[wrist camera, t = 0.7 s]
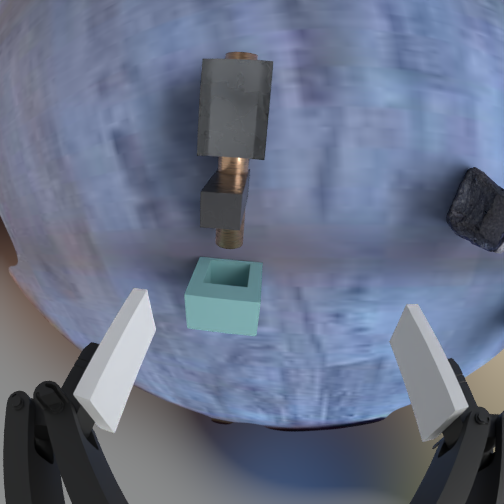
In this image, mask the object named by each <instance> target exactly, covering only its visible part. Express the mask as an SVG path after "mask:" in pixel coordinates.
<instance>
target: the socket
mask: <svg viewBox="0 0 504 504" xmlns="http://www.w3.org/2000/svg"><path fill="white" fill-rule="evenodd" d="M262 264H263V263H260V262H249V261H239V260H229V259H219V258H209V257H200V258H199V260H198V263H197V265H196V268H195V270H194V272H193V275H192V277H191V280H190V282H189V284H188V287H187V289H186V292H185V294H184V296H185V308H186V319H187V328H190V329H197V330H205V331H212V332H221V333H229V334H239V335H249V336H256V334H257V326H258V319H259V311H260V302H261V283H262Z"/></svg>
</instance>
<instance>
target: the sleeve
mask: <svg viewBox="0 0 504 504" xmlns="http://www.w3.org/2000/svg"><path fill="white" fill-rule="evenodd" d="M272 70H273V61H262V60H246V59H203V61H202V73H201V86H200V102H199V120H198V143H197V156H218V157H234V158H248V159H259V160H264V158H265V147H266V136H267V125H268V114H269V103H270V92H271V81H272Z"/></svg>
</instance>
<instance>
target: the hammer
mask: <svg viewBox="0 0 504 504" xmlns="http://www.w3.org/2000/svg"><path fill="white" fill-rule="evenodd" d="M257 57H258V56H257V55H256V54H252V53H246V52H230V53H226V57H225V59H246V60H257ZM248 166H249V159H248V158H234V157H219V160H218V170H217V171H216V173H215V174H214V175H213V176H212V178H211V179H210V180H209V181H208V183H207V184H206V185H205V186H204V188H203V189H202V190H201V201H200V227H205V228H216V244H217V245H218V246H219V247H221V248H225V249H235V248H239V247H241V246H242V244H243V233H244V219H245V206H246V202H247V198H248V188H249V176H250V169H248Z"/></svg>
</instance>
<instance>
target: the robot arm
mask: <svg viewBox="0 0 504 504" xmlns="http://www.w3.org/2000/svg"><path fill="white" fill-rule="evenodd" d="M155 331H156V327H155V323H154V319H153V315H152V310H151V306H150V301H149V296H148V291H147V290H145V289H137V288H133V290H132V291H131V293H130V295H129V296H128V298H127V299H126V301H125V303H124V304H123V306H122V307H121V309H120V311H119V312H118V314H117V316H116V317H115V319H114V321H113V322H112V324H111V326H110V327H109V329H108V331H107V332H106V334H105V336H104V338H103V339H102V341H101V343H100V344H97V343H93V342H91V343H90V344H89V345H88V346H86V347H85V348H84V349H83V351H82V352H81V354H80V356H79V357H78V360H77V361H76V363H75V364H74V367H73V368H72V370H71V371H70V373H69V375H68V377H67V379H66V381H65V382H64V384H63V386H62V388H60V387H59V385H57V384H56V383H55V382H52V381H44V382H42V383H41V384H39V385H38V386H37V387H36V389H35V391H34V394H33V399H32V398H30V397H29V396H28V395H27V394H26V393H25V392H23V391H16V392H14V393H13V394H11V395H10V397H9V398H8V402H7V407H6V416H5V429H4V449H3V458H4V459H3V467H4V488H5V498H6V504H65V501H64V495H63V489H62V481H61V476H62V479H63V482H64V484H65V487H66V490H67V492H68V495H69V497H70V499H71V502H72V504H128V502H127V500H126V499H125V497H124V495H123V493H122V491H121V489H120V487H119V486H118V484H117V482H116V480H115V478H114V476H113V474H112V472H111V469H110V467H109V465H108V463H107V461H106V458H105V456H104V454H103V452H102V449H101V447H100V444H99V442H98V440H97V437H96V435H95V432H94V430H93V425H94V423H96V424H97V426H98V427H99V428H101V429H104V430H107V431H110V432H113V433H115V431H116V429H117V426H118V423H119V420H120V417H121V415H122V412H123V410H124V407H125V404H126V402H127V399H128V397H129V394H130V391H131V389H132V386H133V384H134V381H135V379H136V376H137V374H138V371H139V369H140V366H141V364H142V362H143V359H144V357H145V354H146V352H147V350H148V347H149V345H150V343H151V340H152V338H153V336H154V333H155ZM389 342H390V344H391V347H392V350H393V352H394V355H395V358H396V360H397V363H398V366H399V369H400V371H401V374H402V377H403V380H404V383H405V386H406V389H407V392H408V395H409V398H410V401H411V404H412V407H413V411H414V414H415V417H416V421H417V424H418V428H419V431H420V435H421V438H422V442H425V441H428V440H432V439H435V438H436V437H438V436H439V435H440V434H441V433H443V435H444V437H443V438H442V439H441V440H440V441H439V442H437V443H436V444H435V445H434V446H433V448H432V449H434V448H436V447H437V446H438V445H439V446H438V448H437V450H436V453H435V455H434V457H433V460H432V462H431V464H430V466H429V468H428V470H427V472H426V475H425V476H424V479H423V480H422V482H421V484H420V486H419V488H418V490H417V492H416V494H415V495H414V497H413V499H412V501H411V502H410V504H504V411H503V412H502V413H501V414H500V415H498V414H497V415H496V414H495V415H494V414H489V413H488V411H487V410H486V409H485V408H483V407H478V406H477V404H476V402H475V400H474V398H473V395H472V393H471V391H470V388H469V386H468V384H467V382H466V380H465V378H464V375H462V374H463V373H462V371H461V369H460V367H459V365H458V364H457V363H456V362H455V361H454V360H453V359H452V358H450V359H447V357H446V355H445V353H444V351H443V349H442V347H441V345H440V343H439V342H438V340H437V338H436V336H435V334H434V332H433V330H432V328H431V327H430V325H429V323H428V321H427V319H426V318H425V316H424V314H423V312H422V311H421V309H420V307H419V305H418V304H406V306H405V308H404V311H403V313H402V315H401V318H400V320H399V322H398V324H397V327H396V329H395V331H394V333H393V335H392V337H391V339H390V341H389ZM494 447H495V452H494V453H493V448H494Z"/></svg>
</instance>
